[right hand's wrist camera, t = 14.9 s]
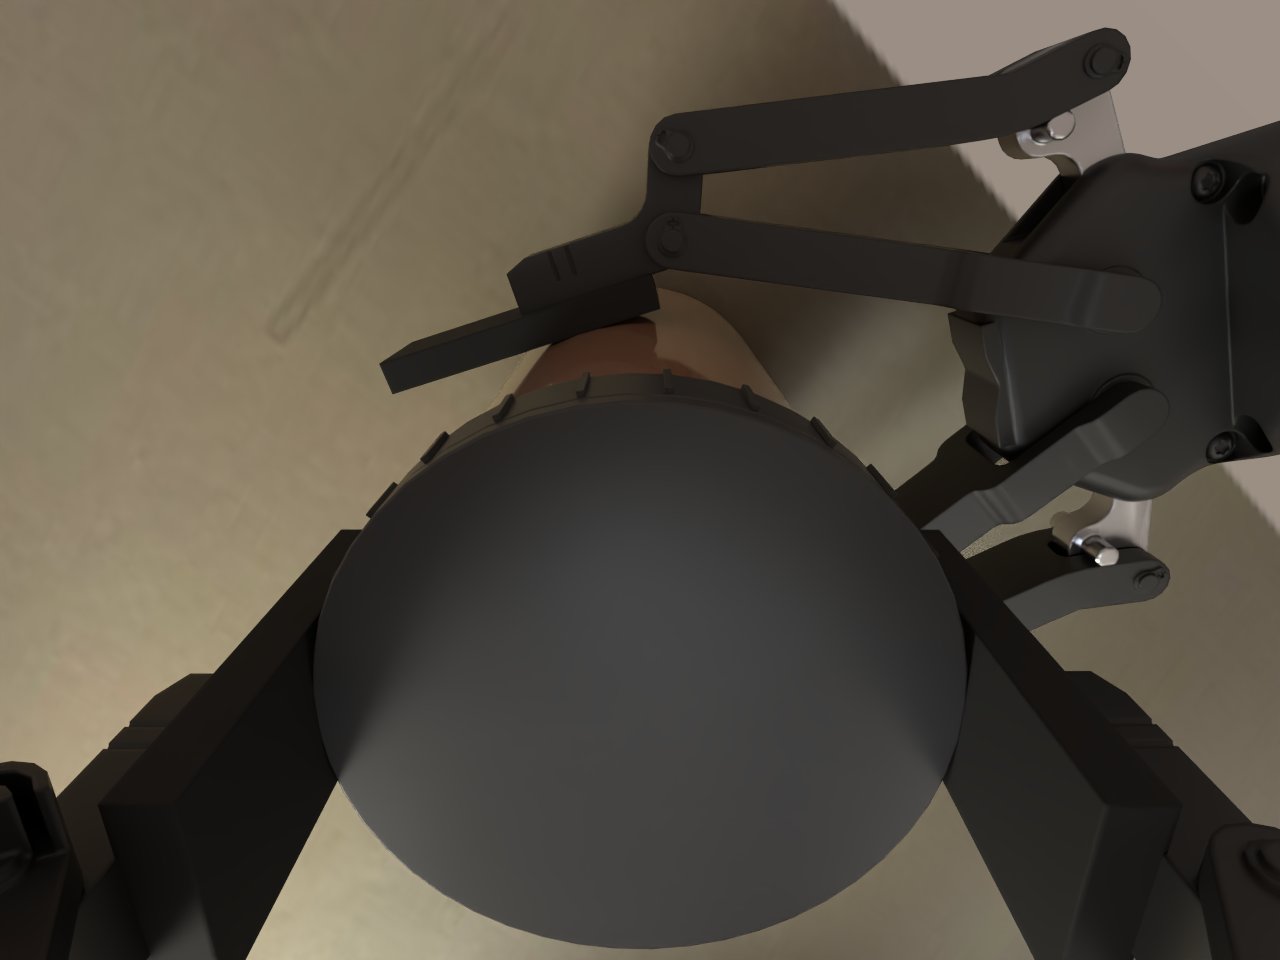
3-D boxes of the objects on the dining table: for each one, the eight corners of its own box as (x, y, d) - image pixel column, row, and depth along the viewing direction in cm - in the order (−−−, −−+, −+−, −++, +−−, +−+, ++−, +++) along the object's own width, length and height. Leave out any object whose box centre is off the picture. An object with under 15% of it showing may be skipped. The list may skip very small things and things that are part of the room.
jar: (740, 259, 24) (890, 357, 10) (782, 501, 27) (945, 851, 12) (483, 318, 24) (268, 492, 10) (551, 548, 27) (457, 932, 13)
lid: (293, 382, 11) (236, 412, 9) (963, 355, 11) (1017, 381, 9) (395, 879, 14) (366, 961, 12) (908, 863, 14) (939, 943, 12)
